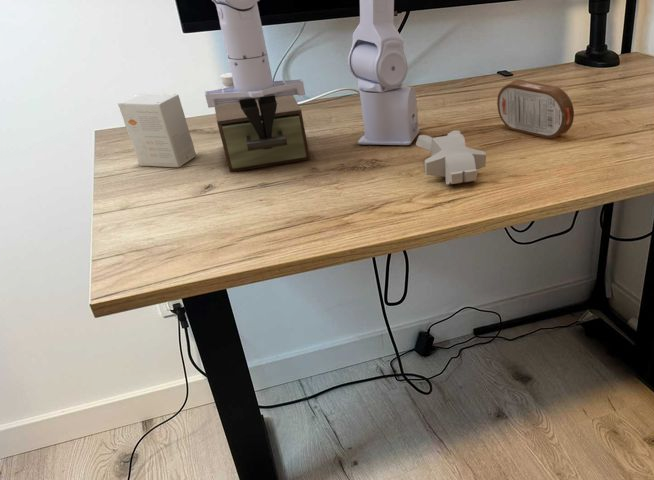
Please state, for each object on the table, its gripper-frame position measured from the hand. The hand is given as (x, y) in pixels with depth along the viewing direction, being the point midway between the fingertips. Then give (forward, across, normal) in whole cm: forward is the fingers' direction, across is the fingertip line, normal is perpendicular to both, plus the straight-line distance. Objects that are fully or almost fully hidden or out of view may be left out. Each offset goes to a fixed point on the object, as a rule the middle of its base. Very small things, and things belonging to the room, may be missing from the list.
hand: (267, 147), depth 104 cm
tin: (+4, +45, -2) cm, 46 cm away
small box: (+4, -16, +13) cm, 21 cm away
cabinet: (+4, 0, +9) cm, 10 cm away
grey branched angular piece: (+4, +26, -13) cm, 30 cm away
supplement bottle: (+4, -2, +27) cm, 27 cm away
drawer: (+3, 0, +5) cm, 6 cm away
